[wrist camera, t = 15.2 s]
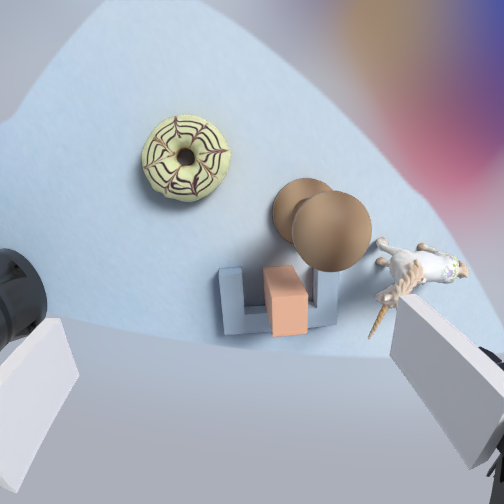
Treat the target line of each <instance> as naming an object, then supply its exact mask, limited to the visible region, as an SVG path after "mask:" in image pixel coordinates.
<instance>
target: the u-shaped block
mask: <svg viewBox="0 0 504 504" xmlns="http://www.w3.org/2000/svg"><path fill="white" fill-rule="evenodd" d="M219 284H220V295H221V305H222V315H223V324H224V333H225V335H234V334H248V333H261V332H272V331H271V326H270V322H269V318H268V314H267V309H266V305H261V306H248V307H244V296H243V281H242V269H241V267H234V268H219ZM338 291H339V272H323V271H319V270H316V269H314V270H313V301H308V327H307V328H312V327H321V326H329V325H336V324H337V309H338Z"/></svg>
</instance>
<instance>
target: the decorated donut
mask: <svg viewBox="0 0 504 504" xmlns="http://www.w3.org/2000/svg"><path fill="white" fill-rule="evenodd" d="M184 149H185V150H186V149H190V150H192V151H193V153H194V156H195V161H194V163H193V165H191V166H182V165H180V164H179V162H178V160H177V156H178V154H179V153H180V152H181V151H183V150H184ZM230 157H231V152H230V150H229V147H228V145H227V142H226V140H225V139H224V137H223V136H222V135H221V133H220V132H219V131H218V130H217V128H216V127H215V126H213V125H212V124H211V123H209V122H208V121H206V120H204V119H202V118H200V117H197V116H193V115H187V114H186V115H180V116H174V117H171V118H168V119H165V120H164V121H162V122H161V123H160V124H159V125H158V126H157V127H156V128H155V129H154V130H153V132H152V133H151V135H150V136H149V138H148V140H147V142H146V143H145V145H144V148H143V151H142V156H141V160H142V168H143V171H144V173H145V175H146V177H147V179H148V180H149V182H150V183H151V186H152V188H153V189H154V190H155V191H157V192H161V193H163V195H164V196H165V197H166V198H173V199H177V200H180V201H183V202H193V201H197V200H199V199H201V198H203V197H205V196H207V195H209V194H210V193H211V192H212V191H213V190H215V189H216V188H217V187H218V186H219V185H220V183H221V182H222V180H223V179H224V177H225V176H226V174H227V171H228V167H229V162H230Z"/></svg>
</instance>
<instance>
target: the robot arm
mask: <svg viewBox="0 0 504 504" xmlns="http://www.w3.org/2000/svg"><path fill="white" fill-rule="evenodd" d="M46 311H47V299H46V293H45V290H44V286H43V284H42V281H41V279H40V277H39V275H38V273H37V272H36V270H35V269H34V267H33V266H32V265H31V263H30V262H29V261H28V260H27V259H26V258H25V257H24V256H22V255H21V254H19V253H18V252H16V251H14V250H11V249H0V351H1V350H2V349H3V348H4V347H5V346H6V345H7V344H8V343H9V342H11V341H14V340H17V339H20V338H22V337H26V336H28V335H29V336H28V337H27V338H26V339H25V340H24V341H23V342H22V343H21V344H20V345H19V346H18V347H17V349H15V351H14V352H13V353H12V354H11V355H10V356H9V357H8V358H7V359H6V361H5V362H4V363H3V364H2V365H1V366H0V487H2V488H5V489H7V490H10V491H12V492H15V493H17V492H18V490H19V488H20V486H21V483H22V481H23V479H24V477H25V475H26V473H27V471H28V469H29V467H30V465H31V463H32V461H33V459H34V457H35V455H36V453H37V451H38V449H39V447H40V445H41V443H42V441H43V439H44V437H45V435H46V434H47V432H48V430H49V428H50V426H51V424H52V422H53V420H54V419H55V417H56V415H57V413H58V412H59V410H60V408H61V406H62V404H63V402H64V401H65V399H66V397H67V396H68V394H69V392H70V390H71V388H72V387H73V385H74V384H75V382H76V380H77V378H78V377H79V375H80V374H79V372H78V369H77V367H76V364H75V361H74V359H73V356H72V353H71V350H70V347H69V345H68V341H67V338H66V336H65V332H64V329H63V326H62V323H61V320H60V318H45V316H46ZM390 357H391V358H392V359H393V361H394V362H395V363H396V365H397V366H398V367H399V369H400V370H401V372H402V373H403V374H404V376H405V377H406V378H407V380H408V381H409V382H410V384H411V385H412V387H413V388H414V389H415V391H416V392H417V393H418V395H419V396H420V398H421V399H422V401H423V402H424V404H425V405H426V406H427V408H428V409H429V411H430V412H431V413H432V415H433V416H434V418H435V419H436V421H437V422H438V423H439V425H440V426H441V428H442V429H443V431H444V432H445V434H446V435H447V437H448V438H449V439H450V441H451V442H452V444H453V446H454V447H455V449H456V450H457V451H458V453H459V454H460V456H461V458H462V459H463V461H464V462H465V464H466V465H467V467H468V468H469V470H471V469H473V468H475V467H477V466H478V465H480V464H482V463H484V462H486V461H488V459H489V458H490V456H491V455H492V453H493V452H494V450H495V449H496V448H497V449H498V450H499V452H500V453H501V454H500V455H499V457H498V458H497V459H496V461H495V462H494V464H493V466H492V467H491V468H490V469H489V471H488V473H487V476H488V477H489V476H490V475H491V473H492V472H493V471H494V469H495V468H496V470H495V475H494V476H493V477H494V482H493V488H492V494H491V499H490V503H489V504H504V363H502V360H500V359H499V358H498V357H497V356H496V355H495V354H494V353H492V352H490V351H488V350H486V349H484V348H482V347H477V346H476V345H475V344H474V343H472V342H471V341H470V340H469V339H468V338H467V337H466V336H465V335H463V334H462V333H461V332H460V331H459V330H458V329H457V328H455V327H454V326H453V325H452V324H451V323H450V322H448V321H447V320H446V319H445V318H444V317H443V316H441V315H440V314H439V313H438V312H437V311H435V310H434V309H433V308H432V307H431V306H429V305H428V304H427V303H426V302H425V301H423V300H422V299H421V298H420V297H419V296H417V295H416V294H409V295H403V296H399V299H398V307H397V314H396V320H395V327H394V333H393V339H392V345H391V350H390Z"/></svg>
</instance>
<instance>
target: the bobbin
mask: <svg viewBox="0 0 504 504" xmlns="http://www.w3.org/2000/svg"><path fill="white" fill-rule="evenodd" d="M272 214H273V221H274V224H275V226H276V228H277V230H278V232H279V233H280V234H281V236H282V237H283V238H284V239H285V240H287V241H288V242H290V243H291V244H294V246H295V248H296V250H297V252H298V253H299V255H300V256H301V258H302V259H303V260H304V261H305V262H306V263H307V264H308V265H309V266H311V267H312V268H314V269H316V270H319V271H323V272H339V271H342V270H345V269H347V268H349V267H351V266H353V265H354V264H355V263H357V262H358V261H359V260H360V259H361V257H362V256H363V255H364V253H365V252H366V250H367V248H368V246H369V243H370V240H371V234H372V225H371V220H370V216H369V214H368V211H367V210H366V208H365V207H364V205H363V204H362V203H361V202H360V201H359V200H358V199H356V198H355V197H353V196H351V195H349V194H346V193H343V192H340V191H333V190H332V189H331V188H330V187H329V186H328V185H327V184H325V183H323V182H321V181H318V180H315V179H310V178H302V179H297V180H294V181H292V182H290V183H288V184H287V185H285V186H284V187H283V188H282V189H281V190H280V192H279V193H278V195H277V196H276V198H275V201H274V204H273V211H272Z"/></svg>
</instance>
